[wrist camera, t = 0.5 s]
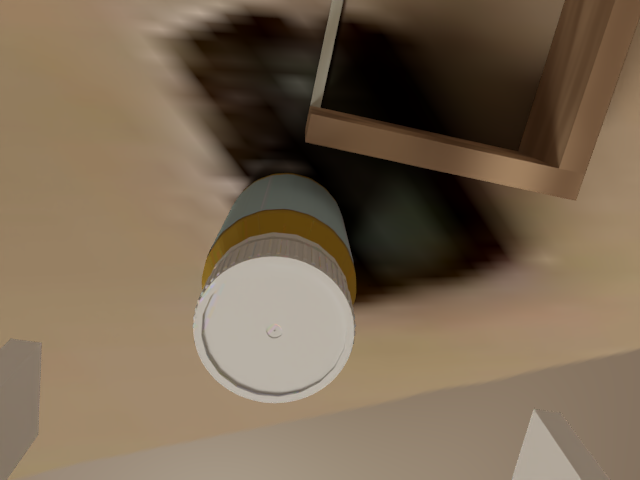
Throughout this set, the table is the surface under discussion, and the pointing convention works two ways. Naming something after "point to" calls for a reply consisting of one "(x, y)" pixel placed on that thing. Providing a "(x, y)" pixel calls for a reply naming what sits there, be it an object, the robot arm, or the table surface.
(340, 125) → the u rest
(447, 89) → the table surface
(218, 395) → the table surface
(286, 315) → the bottle
